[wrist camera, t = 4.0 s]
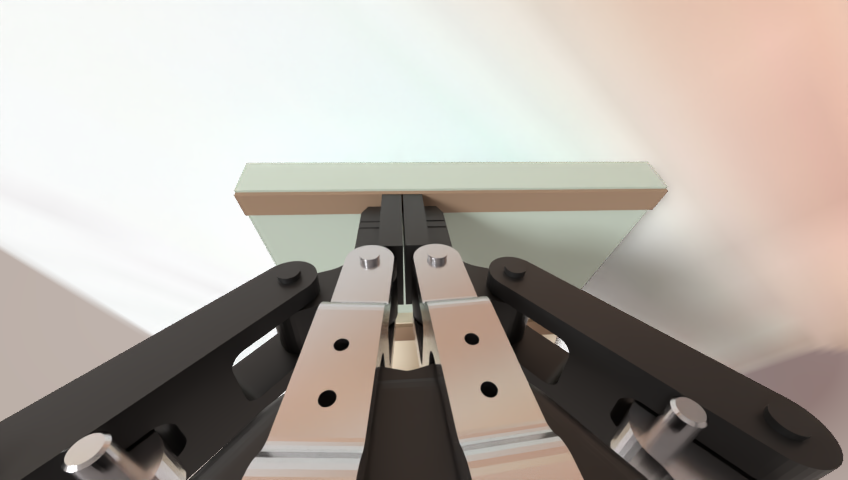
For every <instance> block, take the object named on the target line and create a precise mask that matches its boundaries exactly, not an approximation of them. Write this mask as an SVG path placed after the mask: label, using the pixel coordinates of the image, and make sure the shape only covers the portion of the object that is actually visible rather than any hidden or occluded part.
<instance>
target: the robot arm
mask: <svg viewBox="0 0 848 480" xmlns="http://www.w3.org/2000/svg"><path fill="white" fill-rule="evenodd" d="M403 247H404V272H405V297H406V304H412V307H413V330H414V336H415V342H416V348H417V355H418V361H419V367H420V368H417V369H414V370H409V371H405V370H399V369H393V368H392V363H393V353H394V342H395V332H396V318H397V315H398V305H404V279H403ZM528 318H530V319H531V320H533V321H534V322H536V323H538V324H539V325H541V326H542V327H544V328H545V329H547V330H548V331H550V332H551V333H553V334H555V335H556V336H558V337H559V338H560V339H562V340H563V341H564V342H565V344H566V345H567V347H568V349H569V353H568V352H566V351H565V350H563V349H562V348H560V347H559V346H557V345H556V344H554V343H553V342H551V341H550V340H548V339H547V338H545V337H544V336H542V335H541V334H539V333H538V332H536V331H535V330H533V329H532V328H530V327H529V326H527V321H528ZM275 327H276V329H277V332H278V334H276V335H275V336H274V337H272V338H271V339H270V340H268V341H267V342H266V343H264V344H263V345H262V346H260V347H259V348H258V349H256V350H255V351H253V352H252V353H251V354H249V355H248V356H247V357H245V358H244V359H243V360H241V361H240V362H239V363H237V364H236V365H235V366H233V363H234V361H235V359H236V357H237V356H238V355H239V354H240V353H241V352H242V351H243V350H245V349H246V348H247V347H249V346H250V345H252V344H253V343H254V342H256V341H257V340H259V339H260V338H261V337H263V336H264V335H266V334H267V333H268V332H270V331H271V330H272V329H274V328H275ZM232 366H233V367H232ZM285 391H286V392H285ZM283 392H285V394H283V395H282V396H280V395H281V394H282V393H283ZM279 396H280V397H279ZM222 447H223V448H222ZM221 448H222V449H221ZM220 449H221V450H220ZM219 450H220V451H219ZM218 451H219V452H218ZM217 452H218V453H217ZM216 453H217V454H216ZM214 455H215V456H214ZM212 456H213V457H212ZM211 457H212V458H211ZM210 458H211V459H210ZM209 459H210V460H209ZM208 460H209V461H208ZM207 461H208V462H207ZM842 461H843V453H842V450H841V448H840V446H839V444H838V442H837V440H836V439H835V438H834V436H833V435H832V434H831V432H830V431H829V430H828V429H827V428H826V427H825V426H824V425H823V424H822V423H821V422H820V421H819V420H818V419H817V418H815V417H814V416H813V415H812V414H810V413H809V412H808V411H806V410H805V409H804V408H802V407H801V406H799V405H798V404H796V403H795V402H793V401H791V400H789V399H787V398H785V397H784V396H782V395H780V394H778V393H776V392H774V391H772V390H770V389H769V388H767V387H765V386H763V385H761V384H759V383H757V382H755V381H753V380H751V379H750V378H748V377H745V376H744V375H742V374H740V373H738V372H736V371H734V370H733V369H731V368H729V367H727V366H725V365H723V364H721V363H719V362H717V361H715V360H714V359H712V358H710V357H708V356H706V355H704V354H702V353H700V352H698V351H697V350H695V349H693V348H691V347H689V346H687V345H685V344H683V343H681V342H679V341H678V340H676V339H674V338H672V337H670V336H668V335H666V334H664V333H662V332H660V331H659V330H657V329H655V328H653V327H651V326H649V325H647V324H645V323H643V322H642V321H640V320H638V319H636V318H634V317H632V316H630V315H628V314H626V313H624V312H623V311H621V310H619V309H617V308H615V307H613V306H611V305H609V304H607V303H605V302H604V301H602V300H600V299H598V298H596V297H594V296H592V295H590V294H588V293H587V292H585V291H583V290H581V289H579V288H577V287H575V286H573V285H571V284H569V283H568V282H566V281H564V280H562V279H560V278H558V277H556V276H554V275H552V274H551V273H549V272H547V271H545V270H543V269H541V268H539V267H537V266H535V265H533V264H532V263H530V262H528V261H526V260H523V259H520V258H516V257H500V258H497V259H495V260H493V261H492V262H491V263H490V266H489V268H484V267H479V266H474V265H471V264H468V263H466V262H464V261H462V259H461V256H460V254H459V253H458V252H457V251H456V250H455V249H453V248H452V244H451V240H450V237H449V233H448V229H447V225H446V222H445V218H444V214H443V212H442V211H441V210H440V209H439V208H438V207H437V206H424V203H423V197H422V194H403V229H402V202H401V194H382V200H381V206H380V207H367V208H366V209H365V210H364V211H363V212H362V213H361V217H360V223H359V229H358V233H357V239H356V244H355V249H354V250H352V251H351V252H350V253H349V254H348V255H347V256H346V258H345V261H344V264H343V265H342V266H340V267H338V268H335V269H332V270H328V271H324V272H320V273H317V270H316V268H315V267H314V266H313V265H312V264H310V263H308V262H304V261H291V262H286V263H282V264H279V265H277V266H275V267H273V268H271V269H269V270H268V271H266V272H264V273H262V274H261V275H259V276H257V277H255V278H254V279H252V280H250V281H248V282H247V283H245V284H243V285H241V286H239V287H238V288H236V289H234V290H232V291H231V292H229V293H227V294H225V295H224V296H222V297H220V298H218V299H216V300H215V301H213V302H211V303H209V304H208V305H206V306H204V307H202V308H201V309H199V310H197V311H195V312H194V313H192V314H190V315H188V316H186V317H185V318H183V319H181V320H179V321H178V322H176V323H174V324H172V325H171V326H169V327H167V328H165V329H163V330H162V331H160V332H158V333H156V334H155V335H153V336H151V337H149V338H148V339H146V340H144V341H142V342H141V343H139V344H137V345H135V346H134V347H132V348H130V349H128V350H126V351H125V352H123V353H121V354H119V355H118V356H116V357H114V358H112V359H111V360H109V361H107V362H105V363H103V364H102V365H100V366H98V367H97V368H95V369H93V370H91V371H89V372H88V373H86V374H84V375H83V376H80V377H79V378H77V379H75V380H74V381H72V382H70V383H68V384H66V385H65V386H63V387H61V388H59V389H58V390H56V391H54V392H52V393H51V394H49V395H47V396H45V397H43V398H42V399H40V400H38V401H36V402H35V403H33V404H31V405H29V406H28V407H26V408H24V409H22V410H21V411H19V412H17V413H15V414H13V415H12V416H10V417H8V418H6V419H5V420H3V421H1V422H0V480H187V479H188V478H189V477H190V476H191V475H192V474H193V473H195V472H196V471H197V470H198V469H199V468H200V467H201V466H202V465H204V464H205V463H206V462H207V463H206V464H205V465H204V466H203V467H202V468H201V469H200V470H199V471H197V472H196V473H195V474H194V475H193V476H192V477H191V478H190V479H189V480H819V479H820V478H822V477H824V476H825V475H827V474H829V473H830V472H832V471H834V470H835V469H837V468H838V467H839V466H840V465H841V464H842Z"/></svg>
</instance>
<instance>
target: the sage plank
mask: <svg viewBox="0 0 848 480" xmlns="http://www.w3.org/2000/svg"><path fill="white" fill-rule="evenodd" d="M666 188H667V185H666V184H665V183H664V182H663V180H662V179H661V178H660V177H659V175H658V174H657V173H656V172H655V170H654V169H653V168H652V167H651V165H650V164H649V163H648V162H409V163H247V164H246V166H245V168H244V170H243V172H242V174H241V177H240V179H239V181H238V183H237V185H236V188H235V190H234V191H235V195H234V196H235V198H236V200H237V201H238V203H239V205H240V207H241V208H242V210H243V212H244V214H245V215H246V216H249V218H250V219H251V221H252V223H253V225H254V227H255V228H256V230H257V232H258V234H259V235H260V237H261V239H262V241H263V243H264V244H265V246H266V248H267V250H268V252H269V253H270V255H271V257H272V259H273V260H274V262H275V264H276V266H277V265H279V264H282V263H286V262H291V261H304V262H308V263H310V264H312V265H313V266H314V267H315V268H316V270H317V273H320V272H324V271H328V270H332V269H335V268H338V267H340V266H342V265H343V264H344V261H345V258H346V256H347V255H348V254H349V253H350V252H351V251H352V250H354V249H355V244H356V239H357V233H358V229H359V223H360V217H361V213H362V212H363V211H364V210H365V209H366V208H367V207H380V206H381V200H382V194H401V202H402V229H403V194H422V197H423V203H424V206H437V207H438V208H439V209H440V210H441V211H442V212H443V214H444V218H445V222H446V225H447V229H448V233H449V237H450V240H451V244H452V248H453V249H455V250H456V251H457V252H458V253H459V254H460V256H461V259H462V261H464V262H466V263H468V264H471V265H474V266H479V267H484V268H489V266H490V263H491V262H492V261H493V260H495V259H497V258H500V257H516V258H520V259H523V260H526V261H528V262H530V263H532V264H533V265H535V266H537V267H539V268H541V269H543V270H545V271H547V272H549V273H551V274H552V275H554V276H556V277H558V278H560V279H562V280H564V281H566V282H568V283H569V284H571V285H573V286H575V287H577V288H579V289H582V288H583V286H584V285H585V284H586V283H587V282H588V280H589V279H590V278H591V277H592V276H593V275H594V273H595V272H596V271H597V270H598V269H599V267H600V266H601V265H602V264H603V263H604V261H605V260H606V259H607V258H608V257H609V256H610V254H611V253H612V252H613V251H614V250H615V248H616V247H617V246H618V245H619V244H620V242H621V241H622V240H623V239H624V238H625V237H626V235H627V234H628V233H629V232H630V231H631V229H632V228H633V227H634V226H635V225H636V223H637V222H638V221H639V220H640V219H641V218H642V216H643V215H644V214H645V213H646V212H647V210H652V209H653V208H654V207H655V206H656V205H657V203H658V202H659V201H660V200H661V199H662V198H663V196H664V195H665V194H666V193H667V192H668V191H667V189H666ZM403 279H404V305H398V313H410V312H413V307H412V304H406V297H405V272H404V247H403Z"/></svg>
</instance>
